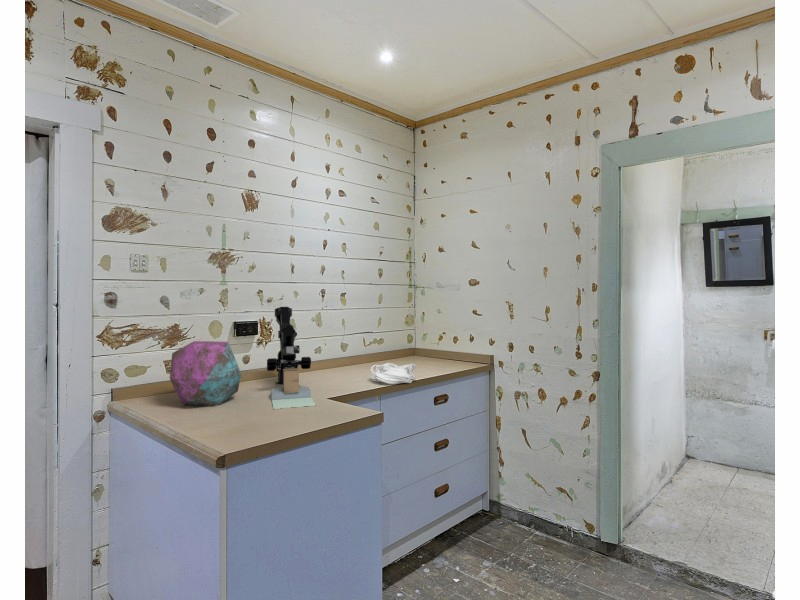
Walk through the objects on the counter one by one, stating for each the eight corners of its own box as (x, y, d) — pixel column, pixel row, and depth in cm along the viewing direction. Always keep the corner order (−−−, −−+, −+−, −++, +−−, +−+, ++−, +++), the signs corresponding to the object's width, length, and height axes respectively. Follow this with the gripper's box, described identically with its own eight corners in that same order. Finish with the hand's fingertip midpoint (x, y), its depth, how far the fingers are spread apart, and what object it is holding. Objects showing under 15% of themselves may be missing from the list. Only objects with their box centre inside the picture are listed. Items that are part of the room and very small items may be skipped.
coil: (398, 376, 256) (397, 358, 256) (427, 382, 237) (427, 363, 237) (358, 382, 241) (358, 364, 241) (386, 389, 222) (386, 369, 222)
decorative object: (137, 399, 185) (174, 347, 209) (206, 436, 195) (233, 382, 219) (169, 360, 170) (205, 308, 194) (242, 402, 180) (267, 348, 204)
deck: (270, 396, 206) (270, 389, 206) (308, 393, 211) (308, 386, 211) (271, 400, 198) (271, 393, 198) (310, 398, 203) (310, 391, 203)
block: (283, 390, 204) (283, 369, 204) (297, 389, 206) (297, 368, 206) (284, 393, 198) (284, 371, 198) (298, 392, 200) (298, 370, 200)
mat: (271, 401, 197) (271, 400, 197) (311, 398, 202) (311, 397, 202) (273, 409, 184) (273, 408, 184) (315, 406, 189) (315, 405, 189)
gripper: (266, 340, 207) (268, 369, 197) (310, 338, 213) (313, 367, 203) (266, 355, 215) (267, 385, 204) (308, 354, 220) (311, 382, 210)
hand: (290, 379), depth 205 cm, fingers closed
